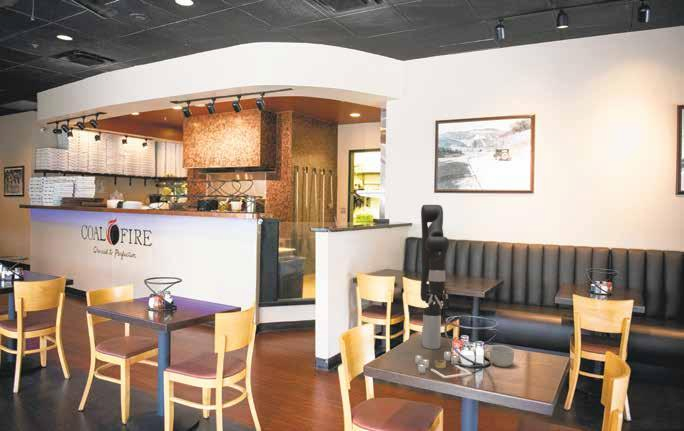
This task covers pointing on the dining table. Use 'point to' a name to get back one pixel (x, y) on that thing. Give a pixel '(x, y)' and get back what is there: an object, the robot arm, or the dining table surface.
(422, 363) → the spacer field
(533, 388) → the dining table surface
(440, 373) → the frame
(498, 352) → the teacup
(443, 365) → the nut
